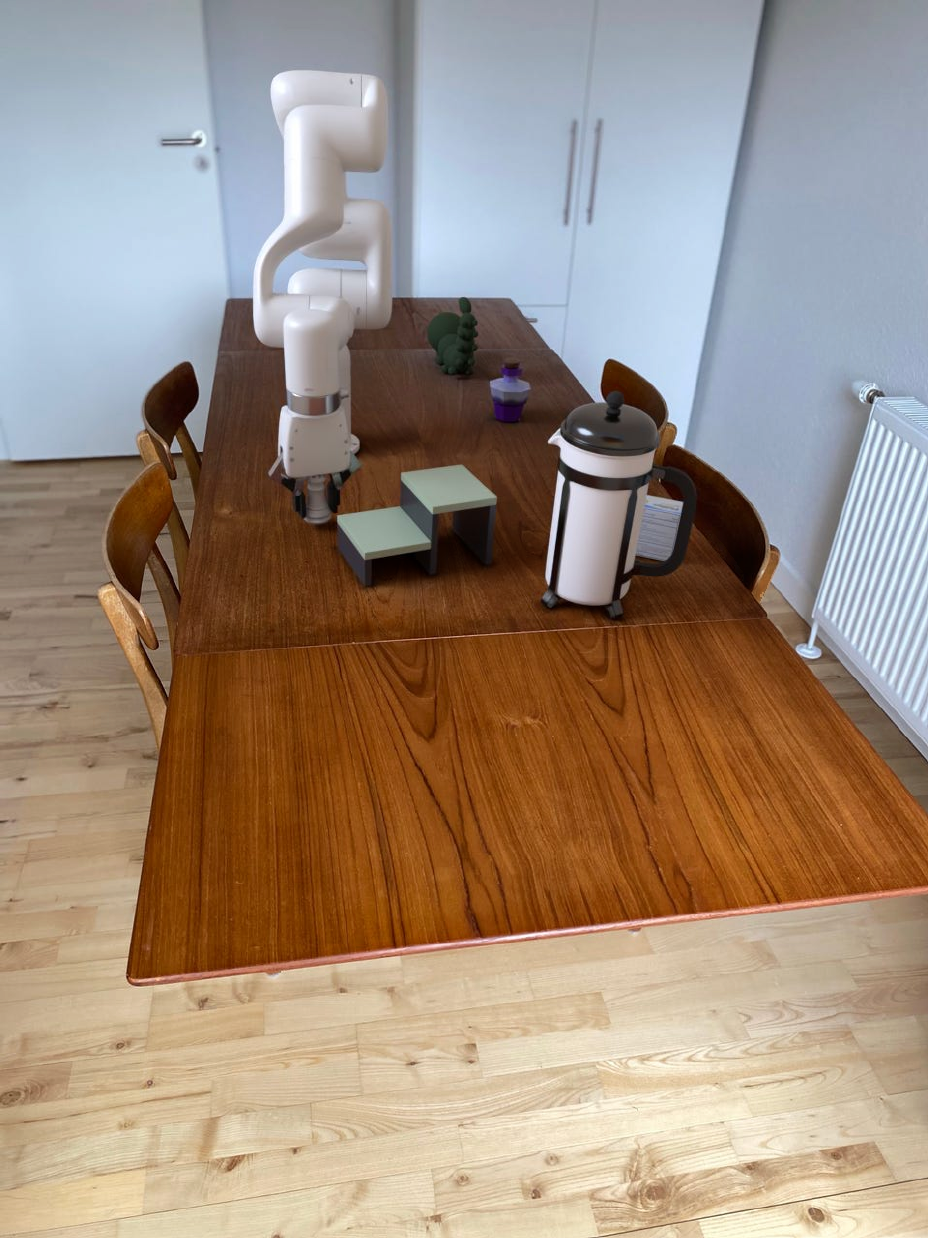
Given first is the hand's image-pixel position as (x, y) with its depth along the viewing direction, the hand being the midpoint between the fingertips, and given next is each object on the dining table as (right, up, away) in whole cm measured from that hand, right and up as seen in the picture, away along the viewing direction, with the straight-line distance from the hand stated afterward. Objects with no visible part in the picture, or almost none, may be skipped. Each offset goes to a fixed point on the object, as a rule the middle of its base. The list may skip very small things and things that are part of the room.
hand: (316, 510), depth 143 cm
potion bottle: (+32, +24, +46) cm, 61 cm away
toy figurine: (+20, +41, +70) cm, 84 cm away
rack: (+15, -7, -5) cm, 18 cm away
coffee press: (+41, -14, -11) cm, 45 cm away
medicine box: (+52, -7, +1) cm, 52 cm away
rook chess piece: (0, -1, +1) cm, 2 cm away
